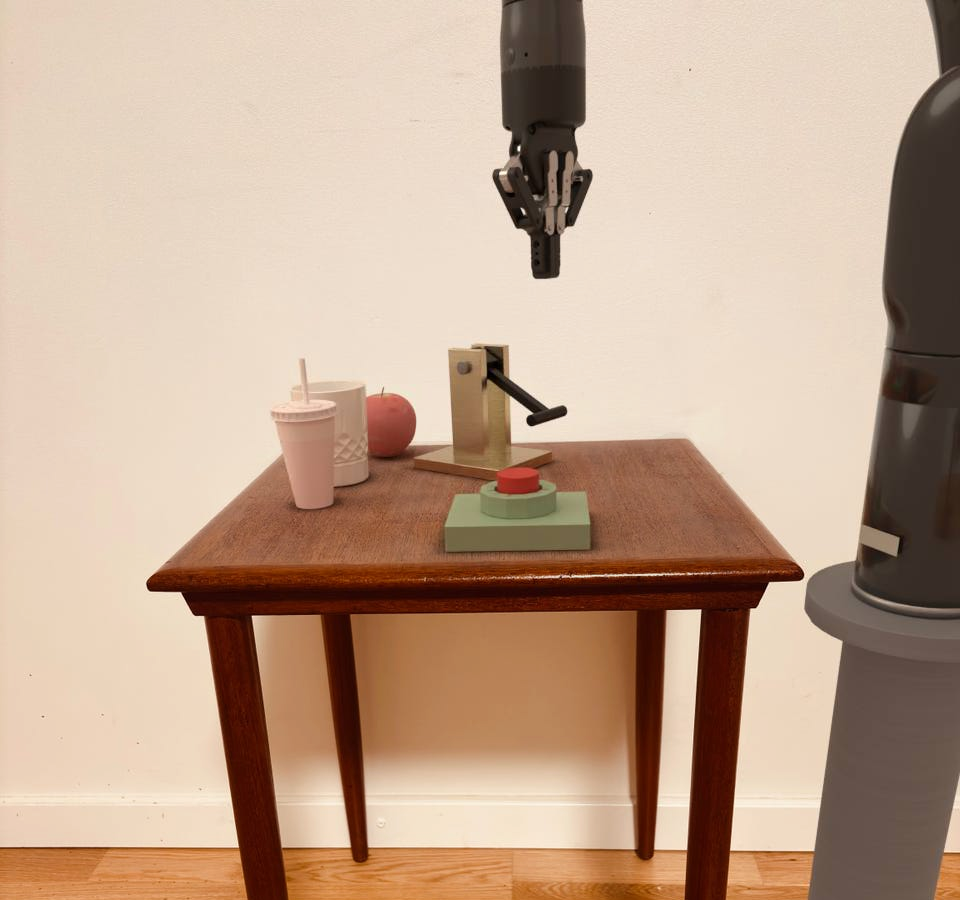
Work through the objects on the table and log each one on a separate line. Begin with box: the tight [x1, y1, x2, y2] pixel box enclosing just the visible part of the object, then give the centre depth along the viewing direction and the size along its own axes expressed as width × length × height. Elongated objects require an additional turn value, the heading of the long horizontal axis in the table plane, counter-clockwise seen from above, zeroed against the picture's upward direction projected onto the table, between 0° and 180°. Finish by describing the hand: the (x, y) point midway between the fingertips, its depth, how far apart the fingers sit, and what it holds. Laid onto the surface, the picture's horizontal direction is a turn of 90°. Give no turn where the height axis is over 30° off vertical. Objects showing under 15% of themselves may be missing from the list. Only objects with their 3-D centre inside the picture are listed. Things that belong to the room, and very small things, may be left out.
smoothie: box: [269, 357, 338, 510], centre depth 89 cm, size 6×6×14 cm
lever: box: [469, 347, 568, 428], centre depth 98 cm, size 12×6×2 cm, turn 52°
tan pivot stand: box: [412, 342, 553, 482], centre depth 101 cm, size 12×10×13 cm
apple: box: [366, 386, 417, 458], centre depth 108 cm, size 7×7×8 cm
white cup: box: [289, 379, 370, 488], centre depth 98 cm, size 8×8×10 cm
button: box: [497, 468, 540, 495], centre depth 79 cm, size 4×4×2 cm
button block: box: [443, 479, 591, 553], centre depth 80 cm, size 12×10×4 cm
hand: (546, 278), depth 88 cm, fingers closed
